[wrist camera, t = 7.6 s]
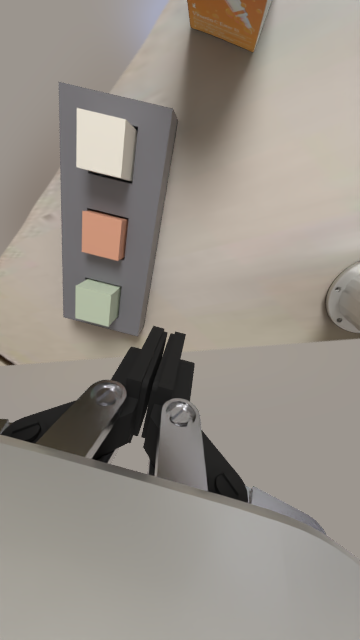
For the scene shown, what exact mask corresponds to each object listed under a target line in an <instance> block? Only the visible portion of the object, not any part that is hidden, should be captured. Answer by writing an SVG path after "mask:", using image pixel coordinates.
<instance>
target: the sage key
mask: <svg viewBox="0 0 360 640" xmlns="http://www.w3.org/2000/svg"><path fill="white" fill-rule="evenodd" d="M121 288H122V287H121V286H117V285H113V284H110V283H106V282H102V281H98V280H94V279H90V278H89V279H87V280H85V281H83V282H82V283H80V284H78V285H76V301H75V318H77V319H81V320H85V321H88V322H92V323H96V324H100V325H104V326H108V327H109V326H110V325H111V323H112V322H113V321H114V320H115V319H116V318H117V317H118V316H119V307H120V297H121Z"/></svg>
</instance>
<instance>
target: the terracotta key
mask: <svg viewBox="0 0 360 640" xmlns="http://www.w3.org/2000/svg"><path fill="white" fill-rule="evenodd" d="M128 220H129V218H126V217H122V216H118V215H114V214H110V213H106V212H102V211H98V210H94V211H82V252H85V253H89V254H93V255H97V256H101V257H105V258H109V259H113V260H116V261H119V260H121V259H122V258H124V257H125V249H126V240H127V230H128Z"/></svg>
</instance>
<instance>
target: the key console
mask: <svg viewBox="0 0 360 640" xmlns="http://www.w3.org/2000/svg"><path fill="white" fill-rule="evenodd" d="M77 108H80V109H84V110H88V111H92V112H97V113H101V114H105V115H109V116H114V117H118V118H122V119H126V120H127V121H128V122H129V123H130V124H131V125H132V126H133V127H134V128H135V129H136V130H137V131H138V134H137V143H136V153H135V162H134V172H133V182H131V181H127V180H123V179H119V178H115V177H111V176H107V175H103V174H99V173H95V172H91V171H88V170H84V169H81V168H77V167H76V144H77ZM59 118H60V169H61V218H62V267H63V315H64V317H65V318H69V319H73V320H77V321H81V322H85V323H88V324H92V325H96V326H100V327H104V328H108V329H111V330H115V331H119V332H123V333H127V334H131V335H134V336H138V335H139V334H140V332H141V330H142V329H143V327H144V323H145V317H146V311H147V304H148V298H149V292H150V286H151V280H152V274H153V268H154V262H155V256H156V250H157V244H158V238H159V232H160V225H161V219H162V213H163V207H164V201H165V195H166V189H167V183H168V177H169V171H170V165H171V159H172V153H173V146H174V140H175V134H176V128H177V122H178V119H177V117H176V115H175V112H174V110H173V109H172V108H168V107H164V106H159V105H155V104H151V103H147V102H142V101H138V100H134V99H130V98H125V97H121V96H117V95H113V94H108V93H104V92H99V91H95V90H91V89H87V88H82V87H78V86H74V85H70V84H65V83H61V82H59ZM94 210H98V211H102V212H106V213H110V214H114V215H118V216H122V217H126V218H129V220H128V230H127V240H126V249H125V257H124V258H122V259H121V260H119V261H116V260H113V259H109V258H105V257H101V256H97V255H93V254H89V253H85V252H82V211H94ZM89 278H90V279H94V280H98V281H102V282H106V283H110V284H113V285H117V286H121V287H122V288H121V297H120V307H119V316H118V317H117V318H116V319H115V320H114V321H113V322H112V323H111V325H110V326H109V327H108V326H104V325H100V324H96V323H92V322H88V321H85V320H81V319H77V318H75V301H76V285H78V284H80V283H82V282H83V281H85V280H87V279H89Z"/></svg>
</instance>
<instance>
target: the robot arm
mask: <svg viewBox="0 0 360 640" xmlns="http://www.w3.org/2000/svg"><path fill="white" fill-rule="evenodd" d="M326 309H327V312H328V315H329V317H330V318H331V320H332V321H333V322H334V323H335V324H336V325H338V326H339V327H340V328H342V329H344V330H346V331H349V332H353V333H360V261H359V262H357V263H355V264H353V265H351V266H350V267H348V268H347V269H345V270H344V271H343V272H342V273H341V274H340V275H339V276H338V277H337V278H336V279H335V281H334V282H333V284H332V285H331V287H330V289H329V291H328V294H327V298H326ZM185 336H186V334H183V333H179V332H175V334H170V337H169V339H168V342H167V345H166V348H165V351H164V346H165V342H166V337H167V332H164V329H163V328H159V327H156V326H153V328H152V330H151V332H150V334H149V336H148V338H147V340H146V342H145V343H144V345H143V347H142V349H139V348H135V347H131V348H130V349H129V351H128V352H127V354H126V356H125V357H124V359H123V360H122V362H121V364H120V365H119V367H118V369H117V371H116V372H115V374H114V375H113V377H112V379H111V380H101V381H98V382H96V383H94V384H92V385H91V386H90V387H89V388H88V389H87V390H86V391H85V392H84V393H83V394H82V395H81V396H80V397H79V398H78V399H77V400H76V401H73V402H70V403H67V404H64V405H60V406H58V407H54V408H51V409H49V410H45V411H42V412H39V413H36V414H33V415H30V416H27V417H24V418H21V419H19V420H17V421H15V422H13V423H10V422H9V420H8V419H0V640H360V560H359V559H358V558H357V557H356V556H355V555H353V554H352V553H351V552H350V551H348V550H347V549H345V548H344V547H343V546H341V545H340V544H338V543H337V542H335V541H334V540H333V539H331V538H330V537H328V536H327V535H326V533H325V531H324V529H323V528H322V527H321V526H320V525H319V524H318V522H317V521H316V520H314V519H313V518H312V517H310V516H309V515H307V514H305V513H304V512H302V511H300V510H298V509H296V508H294V507H292V506H290V505H288V504H286V503H284V502H283V501H280V500H279V499H277V498H275V497H273V496H271V495H269V494H267V493H266V492H264V491H262V490H260V489H258V488H256V487H254V486H253V487H252V489H251V488H249V487H247V486H245V484H244V482H243V481H242V479H241V478H240V476H239V475H238V474H237V473H236V471H235V470H234V469H233V468H232V467H231V465H230V464H229V463H228V462H227V461H226V459H225V458H224V457H223V456H222V454H221V453H220V452H219V451H218V449H217V448H216V447H215V446H214V445H213V443H211V441H210V440H209V439H208V437H207V436H206V435H205V434H204V432H203V431H202V430H201V422H200V415H199V411H198V409H197V408H196V407H195V405H193V404H192V403H191V402H190V396H191V388H192V380H193V373H194V372H193V371H194V363H192V362H188V361H185V360H181V359H180V358H181V353H182V349H183V345H184V340H185ZM163 351H164V354H163ZM162 355H163V357H162ZM147 407H148V409H147ZM146 410H147V414H146V418H145V423H144V428H143V432H142V437H143V438H145V443H144V446H143V447H144V449H145V451H146V453H147V454H148V456H149V463H148V471H147V474H144V473H140V472H137V471H133V470H129V469H126V468H122V467H119V466H115V465H111V463H112V461H113V459H114V458H115V456H116V454H117V452H118V448H119V447H121V446H123V445H125V444H127V443H131V440H132V437H133V435H135V436H138V434H139V431H140V428H141V425H142V422H143V419H144V416H145V413H146Z"/></svg>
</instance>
